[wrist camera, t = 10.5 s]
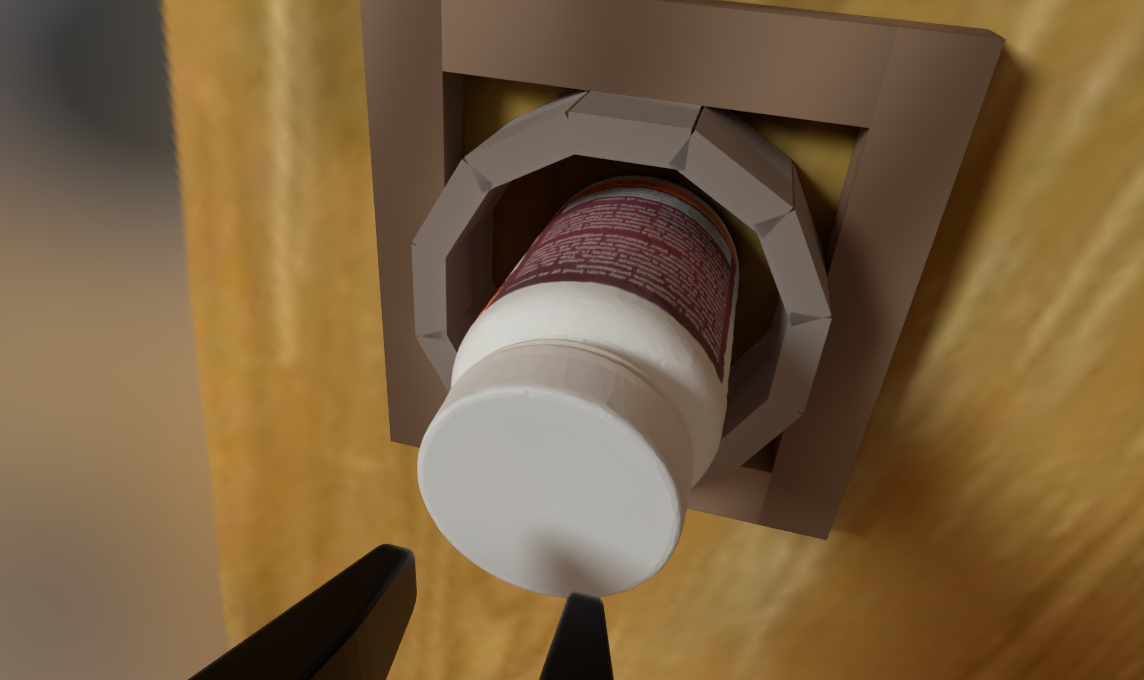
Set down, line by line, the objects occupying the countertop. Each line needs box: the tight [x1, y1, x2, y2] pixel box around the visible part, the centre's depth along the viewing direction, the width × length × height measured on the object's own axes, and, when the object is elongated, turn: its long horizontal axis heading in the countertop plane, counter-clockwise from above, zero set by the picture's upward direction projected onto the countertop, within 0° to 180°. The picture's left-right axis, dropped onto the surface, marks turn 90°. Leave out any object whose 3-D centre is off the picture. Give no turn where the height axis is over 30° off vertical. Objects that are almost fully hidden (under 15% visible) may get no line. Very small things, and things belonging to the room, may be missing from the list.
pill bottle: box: [418, 176, 739, 598], centre depth 14 cm, size 5×5×8 cm
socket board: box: [360, 0, 1005, 540], centre depth 16 cm, size 12×12×3 cm
